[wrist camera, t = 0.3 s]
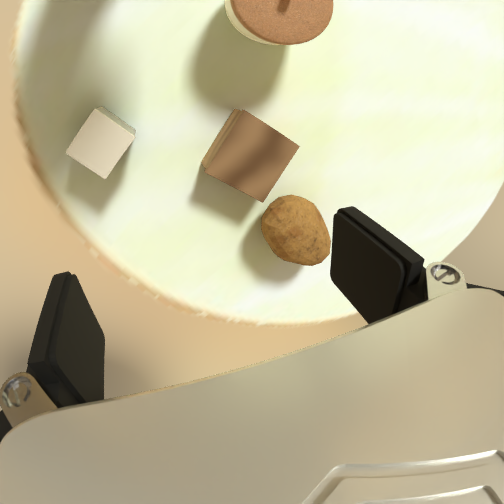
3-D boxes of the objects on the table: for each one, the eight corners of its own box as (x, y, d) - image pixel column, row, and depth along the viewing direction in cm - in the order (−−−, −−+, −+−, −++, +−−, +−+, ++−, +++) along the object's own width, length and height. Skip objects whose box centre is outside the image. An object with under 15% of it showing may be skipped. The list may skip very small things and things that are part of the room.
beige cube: (75, 142, 36) (65, 152, 31) (101, 104, 35) (94, 108, 30) (110, 166, 39) (105, 179, 34) (136, 129, 38) (135, 137, 33)
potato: (290, 261, 58) (309, 287, 51) (238, 217, 50) (254, 241, 43) (328, 224, 56) (352, 245, 50) (282, 172, 48) (305, 190, 42)
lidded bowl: (293, 57, 39) (333, 56, 30) (206, 41, 35) (226, 29, 26) (307, -14, 33) (349, -31, 24) (223, -36, 29) (248, -65, 20)
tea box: (198, 162, 44) (205, 172, 39) (233, 106, 41) (244, 109, 37) (251, 190, 48) (262, 202, 44) (284, 138, 46) (299, 146, 41)
